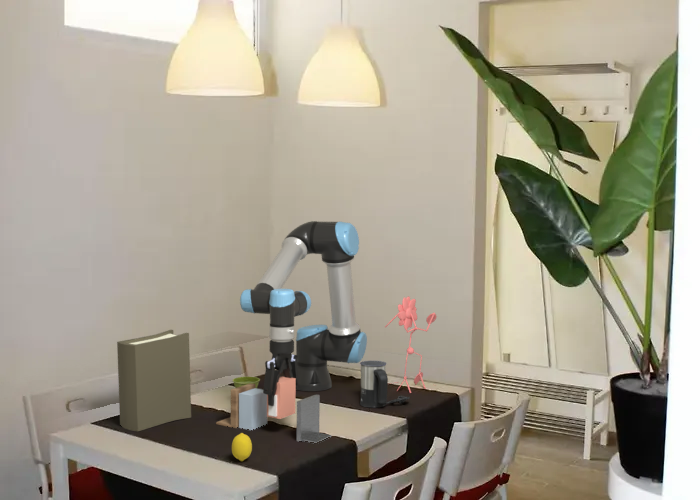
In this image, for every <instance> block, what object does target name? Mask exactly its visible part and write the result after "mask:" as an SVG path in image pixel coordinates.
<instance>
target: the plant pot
mask: <svg viewBox="0 0 700 500" xmlns="http://www.w3.org/2000/svg"><path fill="white" fill-rule="evenodd" d="M260 381H261V378H259V377H257V376H239V377H236V378H235V377H234V378H233V379H232V382H233V385H234V388H238V387H241V386H244V385H247V384H250V383H252V384H256V388H257V389H258V386H259V383H260Z"/></svg>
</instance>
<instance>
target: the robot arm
mask: <svg viewBox="0 0 700 500" xmlns="http://www.w3.org/2000/svg"><path fill="white" fill-rule="evenodd" d="M359 245H360V239H359V233H358V231H357V229H356V227H355V226H354V225H353V223H350V222H344V221H317V220H315V221H313V220H311V221H307V222H305V223H302V224H301V225H298V226H297V227H296V228H294V229H293V230H291V231H290V232H289V233H288V234H287V235H286V236H285V238H284V239H283V240H282V242H281V249H280V250H279V252H278V253H277V254H276V256H275V258H274V259H273V261H271V263H270V264H269V267H268V268H267V269H266V271H265V273H264V274H263V275H262V276H261V278H260V279H259V281H258V282H257V284H256V285H255V287H254V288H253V289H252V288H250V289H248V288H247V289H245V290H243V291H242V292H241V295H240V299H239V304H240V308H241V310H242V311H243V312H245V313H251V314H262V315H266V314H267V315H269V339H270V340H269V352H270V353H271V354H272V355H271V358H270V359H271V360H269V361H268V360H266V361H265V362H264V365H265V370H264V371H265V372H264V381H263V382H264V383H263V389H262V390H263V393H264V394H267V395H268V405H269V415H270V416H275V417H276V416H277V395H275V394H276V390H277V383H278V382H279V378H280V377H281V375H282V374H283V376H284V377H286V378H296V390H297V391H302V392H303V391H304V392H321V391H326V390H329V389H331V388H332V379H331V376H330V372H329V368H328V362H335V363H346V364H359V363H360V362H362V360H363V358H364V355H365V353H366V349H367V343H368V336H367V333H366V332H364V331H361V325H360V324H359V323H357V322H356V311H355V300H354V289H353V278H352V265H351V262H352V261H353V260H354V259H355V256H356V255H357V254H358V252H359V249H360V246H359ZM310 254H311V255H313V254H315V255H320V256H321V261H322V263H324V264H325V265H326V270H327V281H328V293H329V303H330V314H331V322H332V323H331V325H330V326H329V327H328V325H327V324H311V325H306V326H302V327H299V328H298V329H297V331H296V338H295V317H298V316H303V315H304V314H305V313H307V312H308V311H309V310H310V309H311V306H312V299H311V297H310V295H309V293H307V292H305V291H302V290H295V291H294V290H293V289H292V288H284V285H285V283H287V281H288V279H289V277H290V276H291V275H292V273H293V271H294V270H295V269H296V267H297V265H299V262H300V261H302V260H304V259H305V258H306V257H307V255H310ZM294 338H295V341H294ZM295 342H296V343H295ZM295 345H296V347H295ZM295 349H296V350H295ZM294 351H296V353H295V354H293V353H294ZM272 390H273V391H272Z"/></svg>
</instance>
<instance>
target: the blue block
mask: <svg viewBox="0 0 700 500" xmlns="http://www.w3.org/2000/svg"><path fill="white" fill-rule="evenodd" d="M266 424H267V425H268V417H267V394H264V393H263V389H262V388H258V387H257V388H254V389H251V390H248V391H245V392H242V393H239V427H238V429H242V428H243V430H247V429H249V430H248V431H251V430H252V431H253V429H254V430H257V429H259V428H262V427H264V426H266ZM263 425H264V426H263ZM261 426H262V427H261ZM258 427H259V428H258ZM256 428H257V429H256Z"/></svg>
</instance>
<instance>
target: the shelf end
mask: <svg viewBox="0 0 700 500" xmlns="http://www.w3.org/2000/svg"><path fill="white" fill-rule="evenodd" d="M254 388H256V384H252V383H250V384H247V385H244V386H241V387H238V388H235V387H234V388H232V389H230V416H229V417H227V418H224V419H220V420H219V421H216V422H215V424H216V425H218V426H222V427H227V426H228V427H229V428H232V427H233V429H238V428H239V393H242V392H245V391H248V390H251V389H254ZM237 427H238V428H237Z"/></svg>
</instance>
